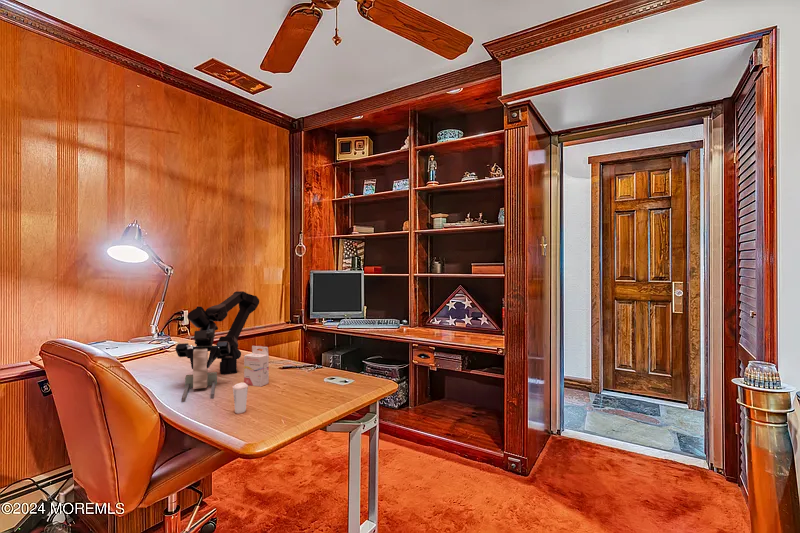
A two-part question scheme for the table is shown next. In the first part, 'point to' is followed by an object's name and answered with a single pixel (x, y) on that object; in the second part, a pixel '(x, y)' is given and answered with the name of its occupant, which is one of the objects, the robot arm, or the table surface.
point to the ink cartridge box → (256, 367)
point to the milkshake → (240, 397)
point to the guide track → (210, 381)
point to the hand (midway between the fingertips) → (199, 368)
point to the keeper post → (200, 368)
